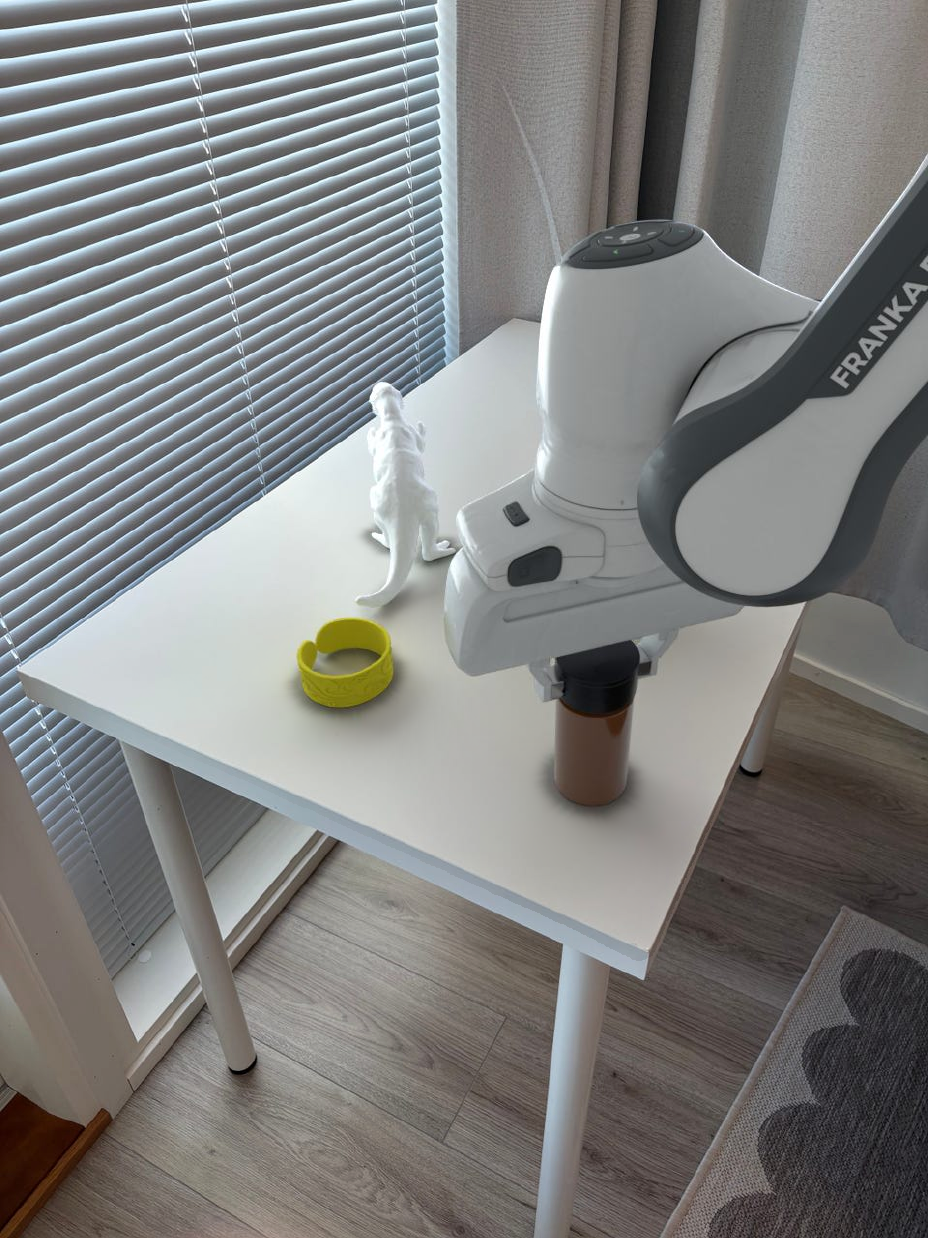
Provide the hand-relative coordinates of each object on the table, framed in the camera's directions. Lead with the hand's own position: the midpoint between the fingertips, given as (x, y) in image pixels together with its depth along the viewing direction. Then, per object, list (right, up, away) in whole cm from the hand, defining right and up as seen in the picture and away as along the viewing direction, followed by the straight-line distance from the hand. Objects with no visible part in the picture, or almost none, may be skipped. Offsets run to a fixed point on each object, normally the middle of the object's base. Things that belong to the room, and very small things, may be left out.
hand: (594, 683), depth 65 cm
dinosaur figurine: (-15, +10, +29) cm, 34 cm away
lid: (0, +2, -1) cm, 2 cm away
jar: (0, -8, +6) cm, 10 cm away
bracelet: (-19, -1, +16) cm, 25 cm away
